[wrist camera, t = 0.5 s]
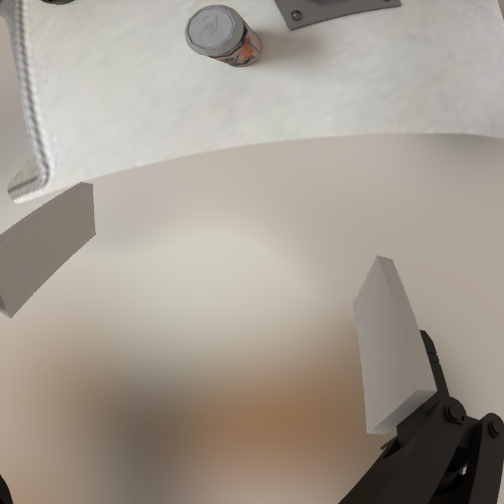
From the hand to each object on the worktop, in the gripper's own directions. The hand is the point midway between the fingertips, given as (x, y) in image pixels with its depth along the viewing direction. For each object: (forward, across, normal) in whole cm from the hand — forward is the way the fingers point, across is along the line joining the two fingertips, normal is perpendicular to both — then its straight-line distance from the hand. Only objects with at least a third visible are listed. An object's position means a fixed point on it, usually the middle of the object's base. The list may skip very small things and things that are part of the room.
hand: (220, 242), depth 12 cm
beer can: (+24, -6, +11) cm, 27 cm away
